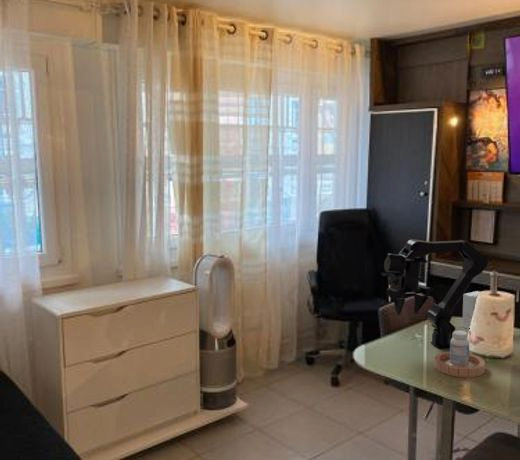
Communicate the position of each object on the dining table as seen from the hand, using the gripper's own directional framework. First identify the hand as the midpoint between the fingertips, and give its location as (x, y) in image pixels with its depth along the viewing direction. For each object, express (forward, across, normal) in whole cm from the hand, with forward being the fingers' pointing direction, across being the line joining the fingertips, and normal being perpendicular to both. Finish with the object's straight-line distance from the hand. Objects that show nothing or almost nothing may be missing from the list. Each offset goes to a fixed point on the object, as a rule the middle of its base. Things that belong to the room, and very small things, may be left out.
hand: (407, 313), depth 201 cm
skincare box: (+10, -42, -1) cm, 43 cm away
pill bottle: (+11, -2, +24) cm, 27 cm away
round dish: (+12, -2, +24) cm, 27 cm away
